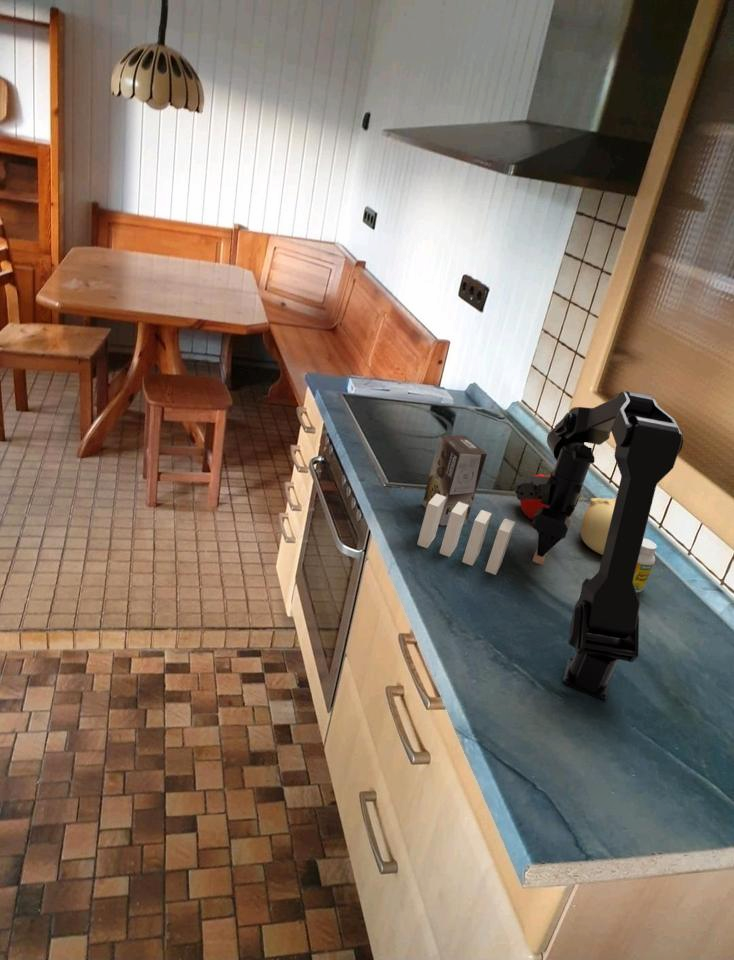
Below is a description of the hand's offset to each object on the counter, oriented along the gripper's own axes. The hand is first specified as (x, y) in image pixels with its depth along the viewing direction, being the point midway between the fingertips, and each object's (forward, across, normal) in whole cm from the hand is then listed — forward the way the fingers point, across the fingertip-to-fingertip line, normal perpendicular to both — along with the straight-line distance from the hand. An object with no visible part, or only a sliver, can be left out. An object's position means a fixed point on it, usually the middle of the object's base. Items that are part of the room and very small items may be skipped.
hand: (543, 545), depth 135 cm
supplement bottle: (+3, -2, +17) cm, 17 cm away
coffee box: (+3, -3, -21) cm, 21 cm away
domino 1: (+3, +10, -20) cm, 23 cm away
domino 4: (+3, +10, -7) cm, 13 cm away
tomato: (+3, -18, -3) cm, 18 cm away
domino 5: (+3, 0, 0) cm, 3 cm away
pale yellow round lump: (+3, -14, +11) cm, 18 cm away
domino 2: (+3, +10, -16) cm, 19 cm away
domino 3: (+3, +10, -12) cm, 15 cm away
